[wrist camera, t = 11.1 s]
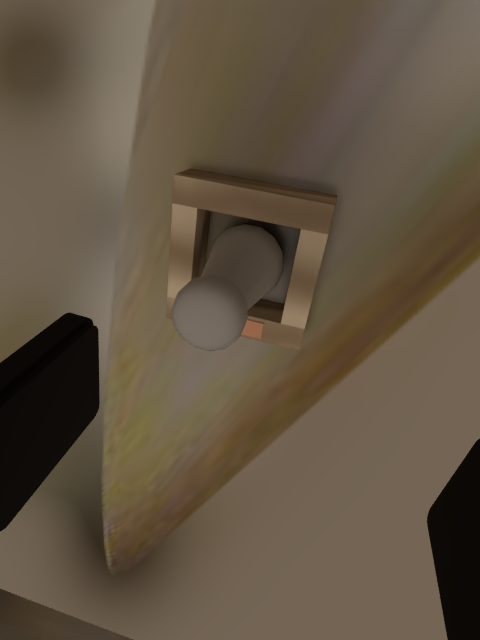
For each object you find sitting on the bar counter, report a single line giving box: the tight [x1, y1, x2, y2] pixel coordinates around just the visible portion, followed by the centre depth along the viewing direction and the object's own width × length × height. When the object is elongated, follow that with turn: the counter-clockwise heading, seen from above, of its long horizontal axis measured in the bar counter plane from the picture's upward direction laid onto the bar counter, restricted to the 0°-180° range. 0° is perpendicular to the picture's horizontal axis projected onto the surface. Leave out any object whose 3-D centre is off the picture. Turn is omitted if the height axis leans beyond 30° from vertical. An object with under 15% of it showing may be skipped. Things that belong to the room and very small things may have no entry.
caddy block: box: [166, 169, 337, 350], centre depth 32 cm, size 12×11×4 cm
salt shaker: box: [171, 224, 283, 351], centre depth 28 cm, size 6×6×13 cm
